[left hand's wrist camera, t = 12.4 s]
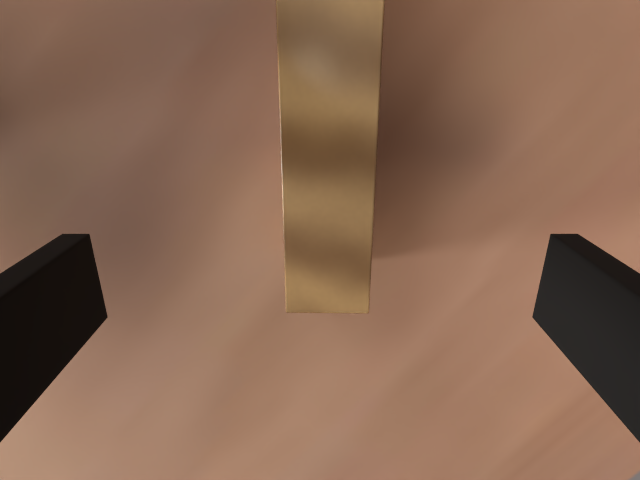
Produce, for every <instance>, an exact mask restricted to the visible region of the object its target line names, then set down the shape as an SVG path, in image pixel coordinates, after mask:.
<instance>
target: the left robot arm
mask: <svg viewBox="0 0 640 480" xmlns="http://www.w3.org/2000/svg"><path fill="white" fill-rule="evenodd" d="M106 318H107V312H106V308H105V303H104V299H103V294H102V290H101V285H100V280H99V276H98V271H97V267H96V262H95V258H94V253H93V248H92V244H91V239H90V235H89V234H62V235H60V236H58V237H57V238H55V239H54V240H52V241H51V242H49V243H47V244H46V245H44V246H43V247H41V248H40V249H38V250H36V251H35V252H33V253H32V254H30V255H29V256H27V257H26V258H24V259H22V260H21V261H19V262H18V263H16V264H15V265H13V266H11V267H10V268H8V269H7V270H5V271H4V272H2V273H0V442H1V441H2V440H3V439H4V437H5V436H6V435H7V434H8V433H9V432H10V430H11V429H12V428H13V427H14V426H15V425H16V423H17V422H18V421H19V420H20V419H21V418H22V416H23V415H24V414H25V413H26V412H27V411H28V409H29V408H30V407H31V406H32V405H33V404H34V402H35V401H36V400H37V399H38V398H39V397H40V395H41V394H42V393H43V392H44V391H45V390H46V388H47V387H48V386H49V385H50V384H51V383H52V381H53V380H54V379H55V378H56V377H57V376H58V374H59V373H60V372H61V371H62V370H63V369H64V367H65V366H66V365H67V364H68V363H69V362H70V360H71V359H72V358H73V357H74V356H75V355H76V353H77V352H78V351H79V350H80V349H81V348H82V346H83V345H84V344H85V343H86V342H87V341H88V339H89V338H90V337H91V336H92V335H93V334H94V332H95V331H96V330H97V329H98V328H99V327H100V325H101V324H102V323H103V322H104V321H105V320H106ZM533 318H534V320H535V321H536V322H537V323H538V324H539V325H540V327H541V328H542V329H543V330H544V331H545V332H546V334H547V335H548V336H549V337H550V338H551V339H552V341H553V342H554V343H555V344H556V345H557V346H558V348H559V349H560V350H561V351H562V352H563V353H564V355H565V356H566V357H567V358H568V359H569V360H570V362H571V363H572V364H573V365H574V366H575V367H576V369H577V370H578V371H579V372H580V373H581V374H582V376H583V377H584V378H585V379H586V380H587V381H588V383H589V384H590V385H591V386H592V387H593V388H594V390H595V391H596V392H597V393H598V394H599V395H600V397H601V398H602V399H603V400H604V401H605V402H606V404H607V405H608V406H609V407H610V408H611V409H612V411H613V412H614V413H615V414H616V415H617V416H618V418H619V419H620V420H621V421H622V422H623V423H624V425H625V426H626V427H627V428H628V429H629V430H630V432H631V433H632V434H633V435H634V436H635V437H636V439H637V440H638V441H639V442H640V273H638V272H636V271H635V270H633V269H632V268H630V267H629V266H627V265H625V264H624V263H622V262H621V261H619V260H618V259H616V258H614V257H613V256H611V255H610V254H608V253H607V252H605V251H604V250H602V249H600V248H599V247H597V246H596V245H594V244H593V243H591V242H589V241H588V240H586V239H585V238H583V237H582V236H580V235H578V234H551V235H550V239H549V244H548V248H547V253H546V258H545V262H544V267H543V271H542V276H541V280H540V285H539V289H538V294H537V299H536V303H535V308H534V312H533Z"/></svg>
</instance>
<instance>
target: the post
mask: <svg viewBox="0 0 640 480" xmlns="http://www.w3.org/2000/svg"><path fill="white" fill-rule="evenodd" d="M384 2H385V0H276V18H277V49H278V81H279V112H280V144H281V175H282V206H283V238H284V269H285V300H286V312H287V313H369V300H370V280H371V260H372V240H373V220H374V200H375V181H376V161H377V141H378V121H379V101H380V81H381V62H382V42H383V22H384Z"/></svg>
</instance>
